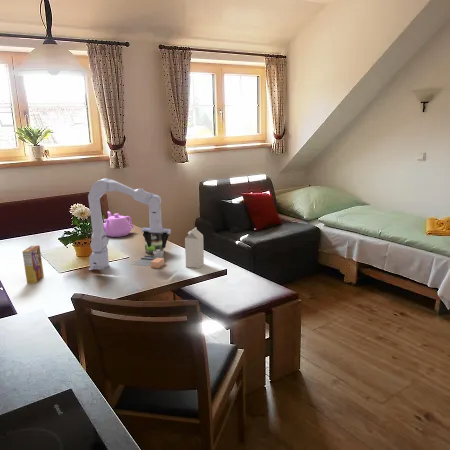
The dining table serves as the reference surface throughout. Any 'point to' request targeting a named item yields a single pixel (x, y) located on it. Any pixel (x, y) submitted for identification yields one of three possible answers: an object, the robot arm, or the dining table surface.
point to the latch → (158, 254)
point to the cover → (157, 262)
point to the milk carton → (194, 249)
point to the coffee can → (154, 243)
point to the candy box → (33, 264)
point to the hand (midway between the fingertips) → (156, 247)
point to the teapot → (117, 225)
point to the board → (145, 261)
